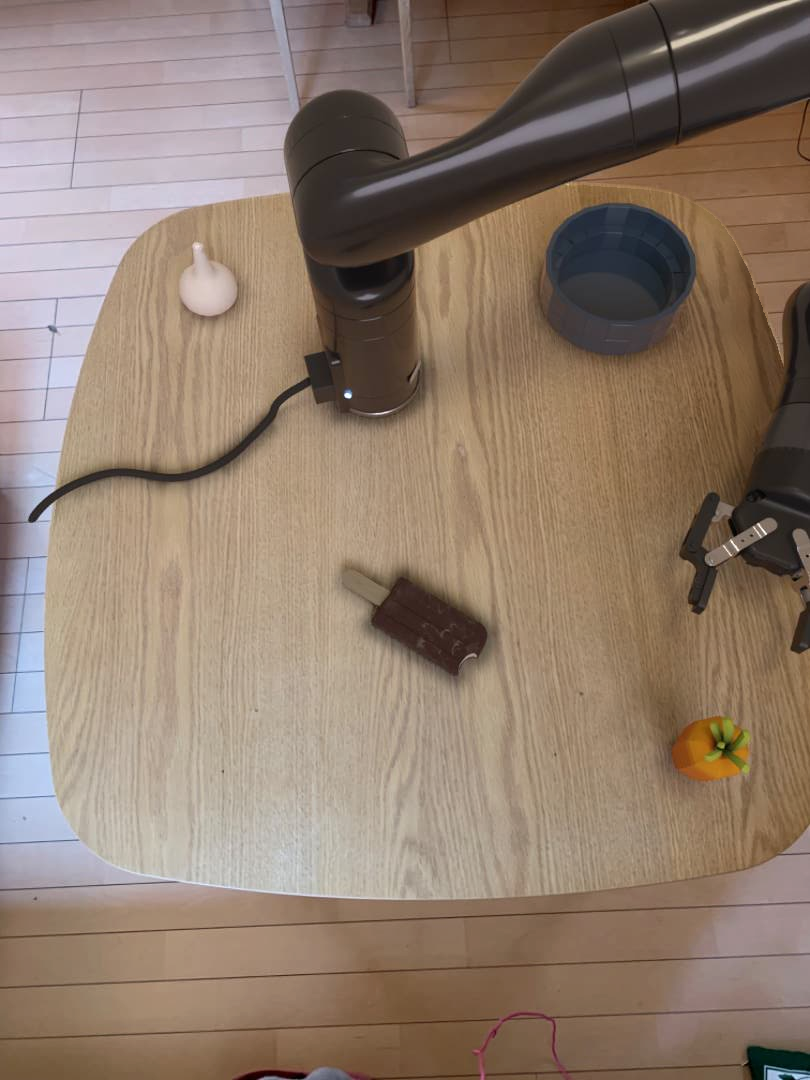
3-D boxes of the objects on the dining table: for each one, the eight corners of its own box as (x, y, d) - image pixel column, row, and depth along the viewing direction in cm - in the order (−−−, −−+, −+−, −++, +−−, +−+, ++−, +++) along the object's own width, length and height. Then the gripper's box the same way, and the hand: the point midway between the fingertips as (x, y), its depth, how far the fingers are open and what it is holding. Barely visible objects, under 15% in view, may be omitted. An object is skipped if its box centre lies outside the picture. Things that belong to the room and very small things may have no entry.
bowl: (564, 373, 89) (573, 340, 84) (521, 258, 95) (527, 221, 89) (701, 339, 90) (719, 305, 85) (651, 227, 95) (664, 188, 90)
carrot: (707, 794, 74) (771, 781, 60) (650, 782, 75) (700, 767, 61) (712, 738, 76) (775, 712, 62) (656, 726, 77) (705, 699, 62)
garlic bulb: (172, 305, 94) (149, 258, 86) (205, 265, 96) (186, 215, 88) (218, 330, 93) (199, 284, 85) (251, 289, 94) (235, 240, 87)
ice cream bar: (329, 599, 82) (463, 681, 79) (327, 594, 80) (463, 678, 77) (359, 555, 83) (492, 634, 80) (358, 549, 82) (493, 630, 78)
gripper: (733, 420, 73) (676, 586, 68) (900, 478, 71) (854, 654, 66) (706, 458, 80) (654, 610, 75) (858, 511, 78) (814, 673, 73)
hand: (747, 630), depth 71 cm, fingers open, 8 cm apart
